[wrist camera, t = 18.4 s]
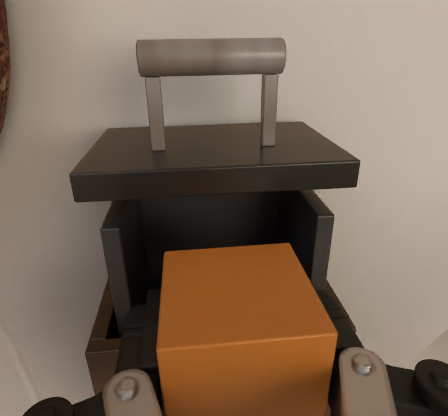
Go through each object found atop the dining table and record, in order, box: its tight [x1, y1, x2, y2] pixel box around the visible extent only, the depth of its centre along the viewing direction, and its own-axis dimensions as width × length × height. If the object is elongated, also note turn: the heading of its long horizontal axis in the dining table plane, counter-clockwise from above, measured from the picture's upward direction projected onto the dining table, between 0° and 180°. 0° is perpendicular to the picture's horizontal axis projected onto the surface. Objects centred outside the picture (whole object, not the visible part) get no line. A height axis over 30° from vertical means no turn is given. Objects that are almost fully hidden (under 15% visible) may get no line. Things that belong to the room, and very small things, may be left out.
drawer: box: [69, 38, 360, 338], centre depth 19 cm, size 17×11×8 cm
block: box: [156, 243, 338, 416], centre depth 12 cm, size 5×5×5 cm
